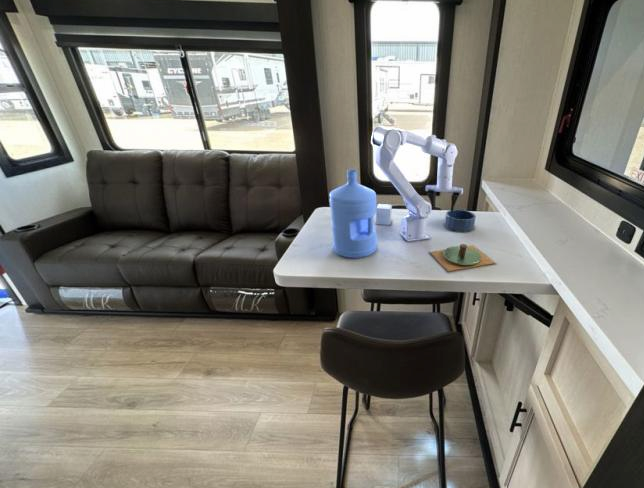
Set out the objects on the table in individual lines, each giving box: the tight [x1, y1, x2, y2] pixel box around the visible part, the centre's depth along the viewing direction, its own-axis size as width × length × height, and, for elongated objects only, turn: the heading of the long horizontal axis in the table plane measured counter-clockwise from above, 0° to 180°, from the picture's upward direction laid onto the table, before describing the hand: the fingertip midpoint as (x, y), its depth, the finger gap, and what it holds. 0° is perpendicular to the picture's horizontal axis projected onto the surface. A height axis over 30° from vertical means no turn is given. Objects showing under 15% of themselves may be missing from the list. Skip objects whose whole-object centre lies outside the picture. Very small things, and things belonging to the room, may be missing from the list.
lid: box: [443, 243, 482, 265], centre depth 107 cm, size 13×13×5 cm
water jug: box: [329, 169, 378, 259], centre depth 105 cm, size 16×16×28 cm
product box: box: [375, 203, 393, 226], centre depth 133 cm, size 6×6×7 cm
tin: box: [444, 209, 477, 233], centre depth 132 cm, size 12×12×6 cm
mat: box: [429, 245, 495, 273], centre depth 108 cm, size 18×14×1 cm
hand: (442, 209), depth 123 cm, fingers open, 7 cm apart
